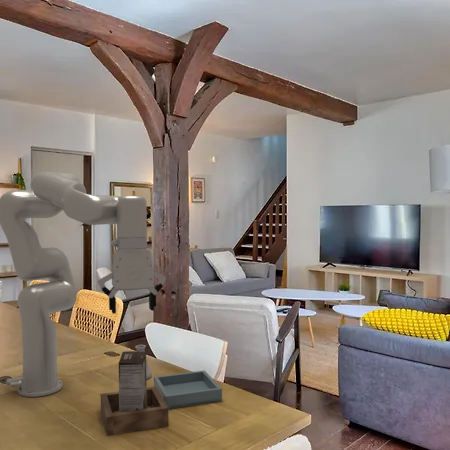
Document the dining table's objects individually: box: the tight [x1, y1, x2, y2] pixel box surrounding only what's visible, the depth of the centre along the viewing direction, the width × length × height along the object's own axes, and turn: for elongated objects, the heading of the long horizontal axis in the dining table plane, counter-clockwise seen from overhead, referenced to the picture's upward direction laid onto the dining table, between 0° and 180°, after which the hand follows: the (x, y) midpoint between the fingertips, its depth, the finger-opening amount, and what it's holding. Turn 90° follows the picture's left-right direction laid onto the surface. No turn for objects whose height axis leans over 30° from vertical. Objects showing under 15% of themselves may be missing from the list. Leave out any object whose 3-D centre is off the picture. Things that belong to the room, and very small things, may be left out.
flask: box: [135, 344, 153, 380], centre depth 151 cm, size 7×7×10 cm
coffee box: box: [118, 350, 148, 413], centre depth 122 cm, size 9×6×16 cm
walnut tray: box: [100, 386, 170, 437], centre depth 122 cm, size 15×15×4 cm
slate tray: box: [153, 369, 223, 410], centre depth 137 cm, size 16×16×4 cm
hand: (132, 311), depth 121 cm, fingers open, 9 cm apart
